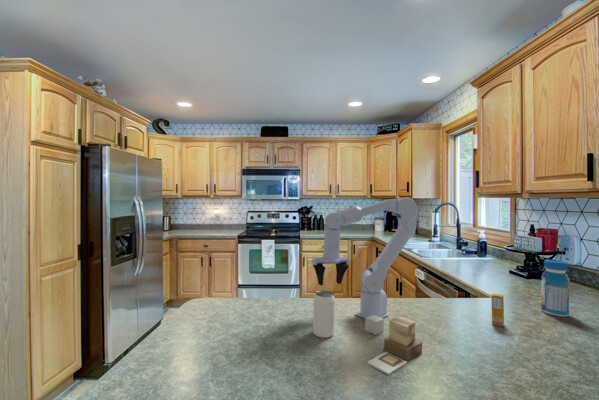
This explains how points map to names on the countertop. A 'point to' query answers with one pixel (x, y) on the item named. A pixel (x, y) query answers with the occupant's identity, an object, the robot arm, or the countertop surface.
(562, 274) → the supplement bottle
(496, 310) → the supplement box
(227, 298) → the countertop surface
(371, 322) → the grey cube
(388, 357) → the card
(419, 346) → the walnut block
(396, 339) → the maple cube
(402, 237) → the robot arm
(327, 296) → the can
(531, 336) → the countertop surface
